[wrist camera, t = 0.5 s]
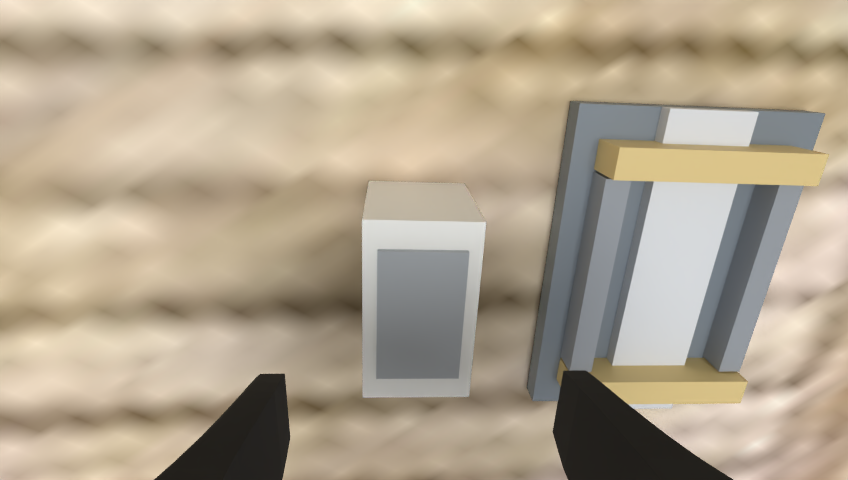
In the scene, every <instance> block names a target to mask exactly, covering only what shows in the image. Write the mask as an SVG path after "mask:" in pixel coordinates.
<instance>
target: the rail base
mask: <svg viewBox="0 0 848 480" xmlns="http://www.w3.org/2000/svg"><path fill="white" fill-rule="evenodd" d="M824 116H825V113H818V112H810V111H799V110H775V109H751V108H727V107H704V106H680V105H656V104H632V103H608V102H584V101H571V102H570V108H569V115H568V121H567V128H566V135H565V141H564V148H563V154H562V161H561V167H560V174H559V181H558V187H557V194H556V200H555V207H554V214H553V220H552V227H551V233H550V240H549V246H548V253H547V260H546V266H545V273H544V279H543V286H542V292H541V299H540V306H539V312H538V319H537V325H536V332H535V338H534V345H533V352H532V358H531V365H530V371H529V378H528V385H527V389H528V391H529V394H530V396H531V398H532V401H558V399H559V393H560V387H561V381H562V376H563V371H571V370H586V371H588V372H589V373H590V374H591V375H593V376H594V377H595V378H597V379H598V380H599V381H600V382H602V383H603V384H604V385H605V386H606V387H608V388H609V389H610V390H611V391H612V392H614V393H615V394H616V395H617V396H618V397H620V398H621V399H622V400H623V401H625V402H626V403H627V404H628V405H629V406H631V407H632V408H633V409H646V408H672V406H673V404H715V403H740V402H741V400H742V397H743V394H744V391H745V388H746V386H747V383H748V381H747V380H746V379H744V378H743V377H742V376H741V375H740V374H739V373H738V372H737V371H740V368H741V365H742V362H743V360H744V357H745V354H746V351H747V348H748V345H749V342H750V339H751V337H752V334H753V331H754V328H755V325H756V322H757V319H758V316H759V313H760V311H761V308H762V305H763V302H764V299H765V296H766V293H767V290H768V288H769V285H770V282H771V279H772V276H773V273H774V270H775V267H776V264H777V262H778V259H779V256H780V253H781V250H782V247H783V244H784V241H785V238H786V236H787V233H788V230H789V227H790V224H791V221H792V218H793V215H794V213H795V210H796V207H797V204H798V201H799V198H800V195H801V192H802V189H803V187H804V186H818V185H819V182H820V179H821V176H822V173H823V171H824V168H825V165H826V162H827V159H828V157H829V154H825V153H821V152H816V151H813V148H814V145H815V142H816V139H817V136H818V133H819V131H820V128H821V125H822V122H823V119H824Z"/></svg>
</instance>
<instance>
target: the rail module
mask: <svg viewBox="0 0 848 480" xmlns="http://www.w3.org/2000/svg"><path fill="white" fill-rule="evenodd" d="M485 231H486V221H485V219H484V217H483V215H482V214H481V212H480V210H479V208H478V207H477V205H476V203H475V201H474V199H473V198H472V196H471V194H470V192H469V190H468V189H467V187H466V185H465V183H433V182H397V181H369V182H368V188H367V194H366V200H365V206H364V211H363V217H362V365H363V398H378V397H469V392H470V382H471V372H472V362H473V352H474V342H475V332H476V322H477V312H478V301H479V291H480V281H481V271H482V261H483V251H484V241H485Z"/></svg>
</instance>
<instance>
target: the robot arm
mask: <svg viewBox="0 0 848 480" xmlns="http://www.w3.org/2000/svg"><path fill="white" fill-rule="evenodd" d="M553 434H554V438H555V441H556V445H557V448H558V452H559V455H560V458H561V462H562V465H563V468H564V471H565V473H566V476H567V478H568V480H733V479H731V478H730V477H728V476H727V475H725V474H724V473H722V472H720V471H719V470H717V469H716V468H714V467H712V466H711V465H709V464H708V463H706V462H705V461H703V460H702V459H700V458H699V457H697V456H696V455H694V454H693V453H691V452H690V451H689V450H687V449H686V448H684V447H683V446H682V445H680V444H679V443H677V442H676V441H675V440H673V439H672V438H671V437H669V436H668V435H666V434H665V433H664V432H662V431H661V430H660V429H659V428H657V427H656V426H655V425H653V424H652V423H651V422H649V421H648V420H647V419H646V418H644V417H643V416H642V415H641V414H639V413H638V412H637V411H636V410H634V409H633V408H632V407H631V406H629V405H628V404H627V403H626V402H625V401H623V400H622V399H621V398H620V397H618V396H617V395H616V394H615V393H614V392H612V391H611V390H610V389H609V388H608V387H606V386H605V385H604V384H603V383H602V382H600V381H599V380H598V379H597V378H595V377H594V376H593V375H591V374H590V373H589V372H588V371H586V370H571V371H563V376H562V381H561V387H560V393H559V399H558V405H557V410H556V416H555V422H554V428H553ZM289 441H290V430H289V418H288V407H287V395H286V384H285V374H260V375H258V376H257V377H256V378H255V379H254V380H253V382H252V383H251V384H250V385H249V386H248V387H247V388H246V389H245V391H244V392H243V393H242V394H241V395H240V396H239V397H238V398H237V399H236V401H235V402H234V403H233V404H232V405H231V406H230V407H229V408H228V409H227V410H226V411H225V412H224V413H223V415H222V416H221V417H220V418H219V419H218V420H217V421H216V422H215V423H214V424H213V425H212V426H211V427H210V428H209V429H208V430H207V431H206V432H205V433H204V434H203V435H202V436H201V437H200V438H199V439H198V440H197V441H196V442H195V443H194V444H193V445H192V446H191V447H190V448H189V449H187V450H186V451H185V452H184V453H183V454H182V455H181V456H180V457H179V458H178V459H177V460H176V461H175V462H174V463H173V464H171V465H170V466H169V467H168V468H167V469H166V470H165V471H164V472H162V473H161V474H160V475H159V476H158V477H157V478H155V479H154V480H282V478H283V473H284V468H285V463H286V458H287V452H288V447H289Z"/></svg>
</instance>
